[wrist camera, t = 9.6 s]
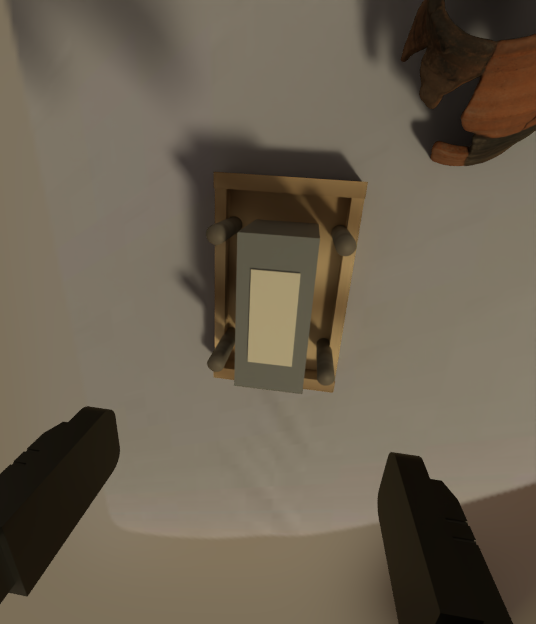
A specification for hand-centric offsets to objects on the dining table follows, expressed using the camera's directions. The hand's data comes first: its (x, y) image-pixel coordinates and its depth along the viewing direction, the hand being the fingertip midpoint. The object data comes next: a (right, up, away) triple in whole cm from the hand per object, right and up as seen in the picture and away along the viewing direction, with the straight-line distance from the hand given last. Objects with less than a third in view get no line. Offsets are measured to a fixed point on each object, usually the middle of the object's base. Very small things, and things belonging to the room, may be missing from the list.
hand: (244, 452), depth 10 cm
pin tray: (+2, +6, +17) cm, 18 cm away
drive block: (+2, +6, +16) cm, 17 cm away
